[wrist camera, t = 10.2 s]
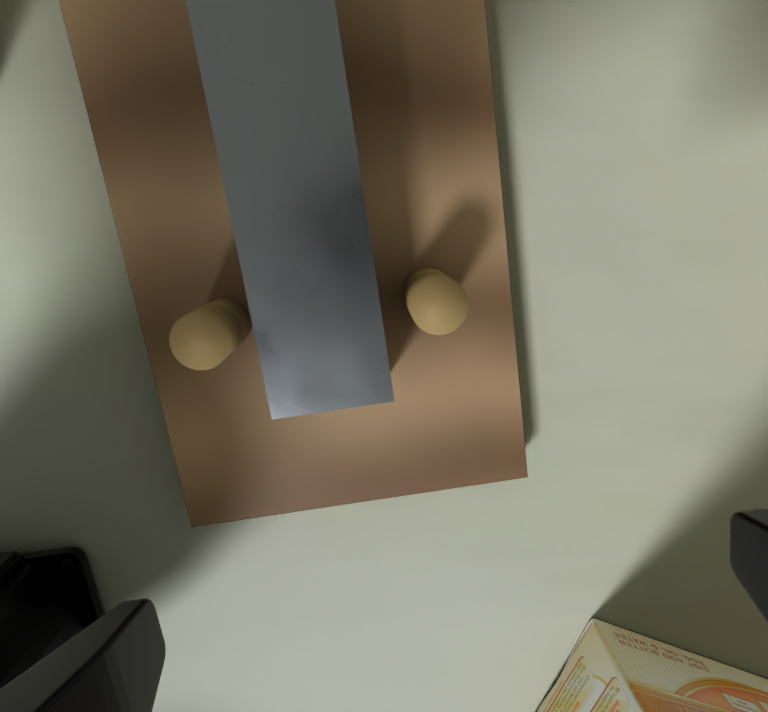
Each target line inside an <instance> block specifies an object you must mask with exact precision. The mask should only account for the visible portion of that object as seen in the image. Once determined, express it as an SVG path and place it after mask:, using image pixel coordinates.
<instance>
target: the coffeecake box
mask: <svg viewBox="0 0 768 712" xmlns="http://www.w3.org/2000/svg"><path fill="white" fill-rule="evenodd" d="M537 712H768V680H767V679H765V678H762V677H759V676H756V675H753V674H751V673H748V672H745V671H742V670H739V669H736V668H734V667H731V666H728V665H725V664H722V663H719V662H717V661H714V660H711V659H708V658H705V657H702V656H699V655H696V654H694V653H691V652H688V651H685V650H682V649H679V648H676V647H674V646H671V645H668V644H665V643H662V642H659V641H657V640H654V639H651V638H648V637H645V636H643V635H640V634H637V633H634V632H631V631H629V630H626V629H623V628H620V627H617V626H614V625H612V624H609V623H606V622H603V621H600V620H597V619H595V618H593V619H591V620H590V622H589V623H588V625H587V627H586V628H585V630H584V631H583V633H582V635H581V637H580V639H579V640H578V642H577V644H576V645H575V647H574V649H573V651H572V652H571V654H570V656H569V658H568V660H567V663H566V665H565V667H564V669H563V671H562V673H561V675H560V677H559V679H558V680H557V682H556V684H555V685H554V687H553V688H552V689H551V691H550V692H549V694H548V695H547V696H546V698H545V699H544V701H543V702H542V704H541V705H540V707H539V709H538V711H537Z"/></svg>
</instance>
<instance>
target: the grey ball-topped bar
mask: <svg viewBox="0 0 768 712" xmlns="http://www.w3.org/2000/svg"><path fill="white" fill-rule="evenodd" d="M186 5H187V9H188V14H189V19H190V24H191V29H192V34H193V39H194V43H195V48H196V53H197V58H198V63H199V68H200V73H201V77H202V82H203V87H204V92H205V97H206V102H207V107H208V111H209V116H210V121H211V126H212V131H213V136H214V141H215V145H216V150H217V155H218V160H219V165H220V170H221V175H222V179H223V184H224V189H225V194H226V199H227V204H228V209H229V213H230V218H231V223H232V228H233V233H234V238H235V243H236V247H237V252H238V257H239V262H240V267H241V272H242V277H243V281H244V286H245V291H246V296H247V301H248V306H249V311H250V315H251V320H252V325H253V330H254V335H255V340H256V345H257V349H258V354H259V359H260V364H261V369H262V374H263V379H264V383H265V388H266V393H267V398H268V403H269V408H270V413H271V417H272V420H274V419H281V418H287V417H294V416H301V415H307V414H314V413H321V412H327V411H334V410H340V409H347V408H354V407H360V406H367V405H374V404H380V403H387V402H394V394H393V387H392V381H391V374H390V367H389V361H388V354H387V347H386V340H385V334H384V327H383V320H382V314H381V307H380V300H379V294H378V287H377V280H376V274H375V267H374V260H373V253H372V247H371V240H370V233H369V227H368V220H367V213H366V207H365V200H364V193H363V187H362V180H361V173H360V166H359V160H358V153H357V146H356V140H355V133H354V126H353V120H352V113H351V106H350V100H349V93H348V86H347V79H346V73H345V66H344V59H343V53H342V46H341V39H340V33H339V26H338V19H337V12H336V6H335V0H186Z"/></svg>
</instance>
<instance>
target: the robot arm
mask: <svg viewBox="0 0 768 712" xmlns="http://www.w3.org/2000/svg"><path fill="white" fill-rule="evenodd" d="M67 559H71V560H73V562H74V563H75V564H71V563H69V562H68V561H67ZM730 562H731V566H732V569H733V572H734V574H735V575H736V577H737V579H738V580H739V582H740V583H741V584H742V586H743V587H744V589H745V590H746V592H747V593H748V595H749V596H750V598H751V599H752V600H753V602H754V603H755V605H756V606H757V608H758V609H759V611H760V612H761V613H762V615H763V616H764V618H765V619H766V621H767V622H768V510H767V509H763V508H755V509H748V510H741V511H736V512H735V513H734V514H732V516H731V519H730ZM164 660H165V642H164V638H163V634H162V631H161V627H160V624H159V620H158V616H157V613H156V609H155V606H154V604H153V602H152V601H151V600H149V599H147V598H145V599H138V600H131V601H125V602H122V603H120V604H119V605H117V606H116V607H114V608H113V609H112V610H110V611H109V612H107V613H106V614H105V615H104V612H103V609H102V606H101V603H100V599H99V596H98V593H97V590H96V586H95V583H94V580H93V577H92V573H91V570H90V567H89V563H88V560H87V557H86V555H85V553H84V552H83V551H82V550H81V549H79V548H76V547H65V548H58V549H52V550H45V551H38V552H32V553H25V554H22V553H19V552H15V551H12V552H6V553H0V712H152V709H153V705H154V701H155V697H156V693H157V689H158V685H159V681H160V677H161V673H162V669H163V665H164Z"/></svg>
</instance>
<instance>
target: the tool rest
mask: <svg viewBox="0 0 768 712" xmlns="http://www.w3.org/2000/svg"><path fill="white" fill-rule="evenodd" d="M59 2H60V6H61V10H62V14H63V18H64V22H65V26H66V29H67V33H68V37H69V41H70V45H71V49H72V53H73V57H74V61H75V65H76V69H77V73H78V77H79V81H80V85H81V89H82V93H83V97H84V101H85V105H86V109H87V113H88V117H89V121H90V125H91V129H92V133H93V137H94V141H95V145H96V149H97V152H98V156H99V160H100V164H101V168H102V172H103V176H104V180H105V184H106V188H107V192H108V196H109V200H110V204H111V208H112V212H113V216H114V220H115V224H116V228H117V232H118V236H119V240H120V244H121V248H122V252H123V256H124V260H125V264H126V268H127V272H128V276H129V279H130V283H131V287H132V291H133V295H134V299H135V303H136V307H137V311H138V315H139V319H140V323H141V327H142V331H143V335H144V339H145V343H146V347H147V351H148V355H149V359H150V363H151V367H152V371H153V375H154V379H155V383H156V387H157V391H158V395H159V399H160V402H161V406H162V410H163V414H164V418H165V422H166V426H167V430H168V434H169V438H170V442H171V446H172V450H173V454H174V458H175V462H176V466H177V470H178V474H179V478H180V482H181V486H182V490H183V494H184V498H185V502H186V506H187V510H188V514H189V518H190V522H191V526H192V527H196V526H203V525H209V524H216V523H223V522H229V521H236V520H243V519H250V518H256V517H263V516H270V515H277V514H283V513H290V512H297V511H303V510H310V509H317V508H324V507H330V506H337V505H344V504H351V503H357V502H364V501H371V500H377V499H384V498H391V497H398V496H404V495H411V494H418V493H425V492H431V491H438V490H445V489H451V488H458V487H465V486H472V485H478V484H485V483H492V482H499V481H505V480H512V479H519V478H525V477H528V475H527V464H526V453H525V442H524V431H523V420H522V409H521V398H520V387H519V376H518V365H517V354H516V343H515V332H514V321H513V310H512V299H511V288H510V277H509V266H508V255H507V244H506V233H505V222H504V211H503V200H502V189H501V178H500V167H499V156H498V145H497V134H496V123H495V112H494V101H493V90H492V79H491V68H490V57H489V46H488V35H487V24H486V13H485V2H484V0H335V6H336V12H337V19H338V26H339V33H340V39H341V46H342V53H343V59H344V66H345V73H346V79H347V86H348V93H349V100H350V106H351V113H352V120H353V126H354V133H355V140H356V146H357V153H358V160H359V166H360V173H361V180H362V187H363V193H364V200H365V207H366V213H367V220H368V227H369V233H370V240H371V247H372V253H373V260H374V267H375V274H376V280H377V287H378V294H379V300H380V307H381V314H382V320H383V327H384V334H385V340H386V347H387V354H388V361H389V367H390V374H391V381H392V387H393V394H394V402H387V403H380V404H374V405H367V406H360V407H354V408H347V409H340V410H334V411H327V412H321V413H314V414H307V415H301V416H294V417H287V418H281V419H274V420H272V417H271V413H270V408H269V403H268V398H267V393H266V388H265V383H264V379H263V374H262V369H261V364H260V359H259V354H258V349H257V345H256V340H255V335H254V330H253V325H252V320H251V315H250V311H249V306H248V301H247V296H246V291H245V286H244V281H243V277H242V272H241V267H240V262H239V257H238V252H237V247H236V243H235V238H234V233H233V228H232V223H231V218H230V213H229V209H228V204H227V199H226V194H225V189H224V184H223V179H222V175H221V170H220V165H219V160H218V155H217V150H216V145H215V141H214V136H213V131H212V126H211V121H210V116H209V111H208V107H207V102H206V97H205V92H204V87H203V82H202V77H201V73H200V68H199V63H198V58H197V53H196V48H195V43H194V39H193V34H192V29H191V24H190V19H189V14H188V9H187V5H186V0H59Z"/></svg>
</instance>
